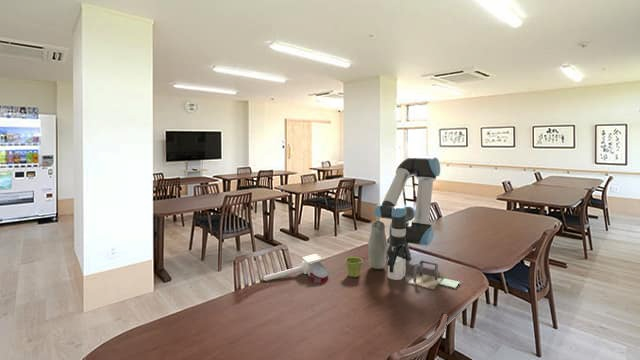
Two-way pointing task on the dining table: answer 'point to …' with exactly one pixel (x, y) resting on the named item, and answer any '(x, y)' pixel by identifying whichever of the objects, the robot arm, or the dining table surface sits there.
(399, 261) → the cup
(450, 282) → the pad
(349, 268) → the plant pot
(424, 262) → the bent wire
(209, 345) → the dining table surface
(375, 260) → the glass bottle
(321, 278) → the canned food
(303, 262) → the white handled tool
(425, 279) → the wire board
